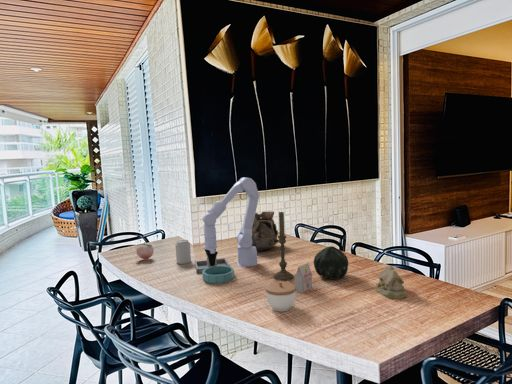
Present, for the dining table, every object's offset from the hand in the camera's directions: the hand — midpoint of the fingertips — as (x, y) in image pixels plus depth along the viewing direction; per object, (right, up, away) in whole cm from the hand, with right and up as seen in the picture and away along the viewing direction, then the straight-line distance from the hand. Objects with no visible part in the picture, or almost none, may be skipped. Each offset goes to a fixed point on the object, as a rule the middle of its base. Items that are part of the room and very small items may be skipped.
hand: (211, 264), depth 177 cm
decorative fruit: (-39, -2, +21) cm, 45 cm away
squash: (+55, -2, -19) cm, 59 cm away
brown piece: (+24, +2, +35) cm, 43 cm away
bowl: (+5, -3, -15) cm, 16 cm away
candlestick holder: (+34, -2, -17) cm, 38 cm away
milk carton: (+41, -4, -33) cm, 53 cm away
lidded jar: (+31, -6, -50) cm, 59 cm away
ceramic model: (+74, -3, -39) cm, 84 cm away
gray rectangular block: (0, -2, 0) cm, 2 cm away
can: (-16, -2, +12) cm, 20 cm away
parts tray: (0, -2, 0) cm, 2 cm away
